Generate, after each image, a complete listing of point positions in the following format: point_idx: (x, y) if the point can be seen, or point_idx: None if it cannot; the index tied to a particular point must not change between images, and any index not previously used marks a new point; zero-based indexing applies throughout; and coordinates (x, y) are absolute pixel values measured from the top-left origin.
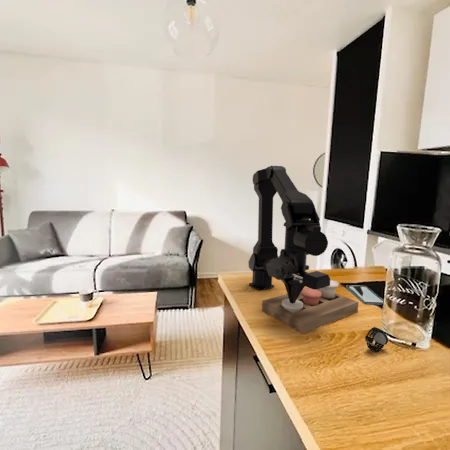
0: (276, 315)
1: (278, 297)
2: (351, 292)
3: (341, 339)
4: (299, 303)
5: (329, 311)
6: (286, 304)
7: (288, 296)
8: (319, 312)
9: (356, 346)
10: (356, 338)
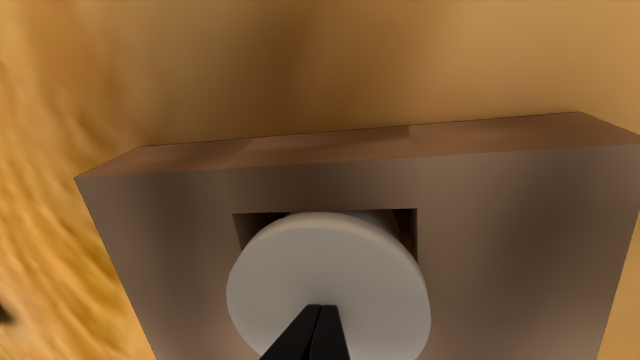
0: (379, 135)
1: (572, 334)
2: None
3: (64, 265)
4: None
5: None
6: (318, 251)
7: (342, 352)
8: (187, 357)
9: (10, 268)
10: (67, 316)
